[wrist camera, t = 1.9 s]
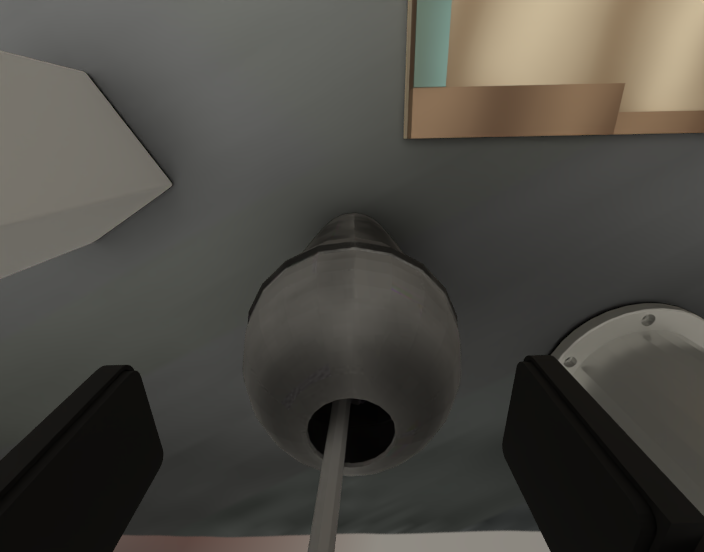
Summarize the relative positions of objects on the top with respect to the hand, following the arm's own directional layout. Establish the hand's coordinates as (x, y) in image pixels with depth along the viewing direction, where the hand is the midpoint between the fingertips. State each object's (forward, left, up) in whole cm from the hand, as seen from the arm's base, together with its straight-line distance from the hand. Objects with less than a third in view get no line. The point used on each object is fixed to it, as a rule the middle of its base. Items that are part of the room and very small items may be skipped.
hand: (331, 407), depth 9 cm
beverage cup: (-1, 0, -15) cm, 15 cm away
